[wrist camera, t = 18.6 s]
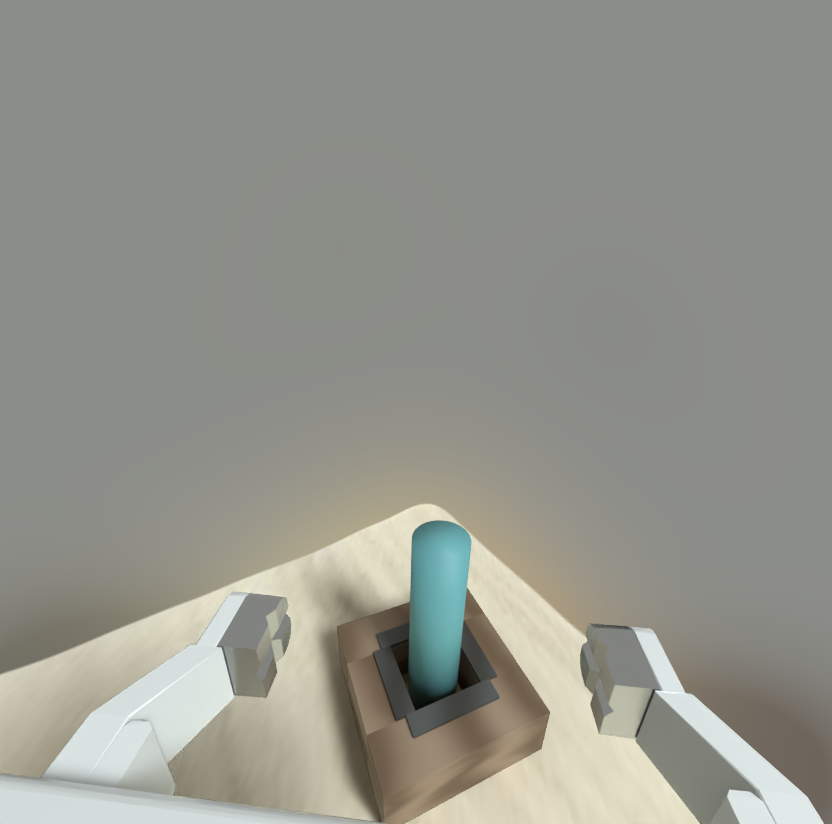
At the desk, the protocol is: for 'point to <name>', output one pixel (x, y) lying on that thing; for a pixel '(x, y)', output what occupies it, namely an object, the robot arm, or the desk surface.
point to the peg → (436, 610)
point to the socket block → (436, 713)
